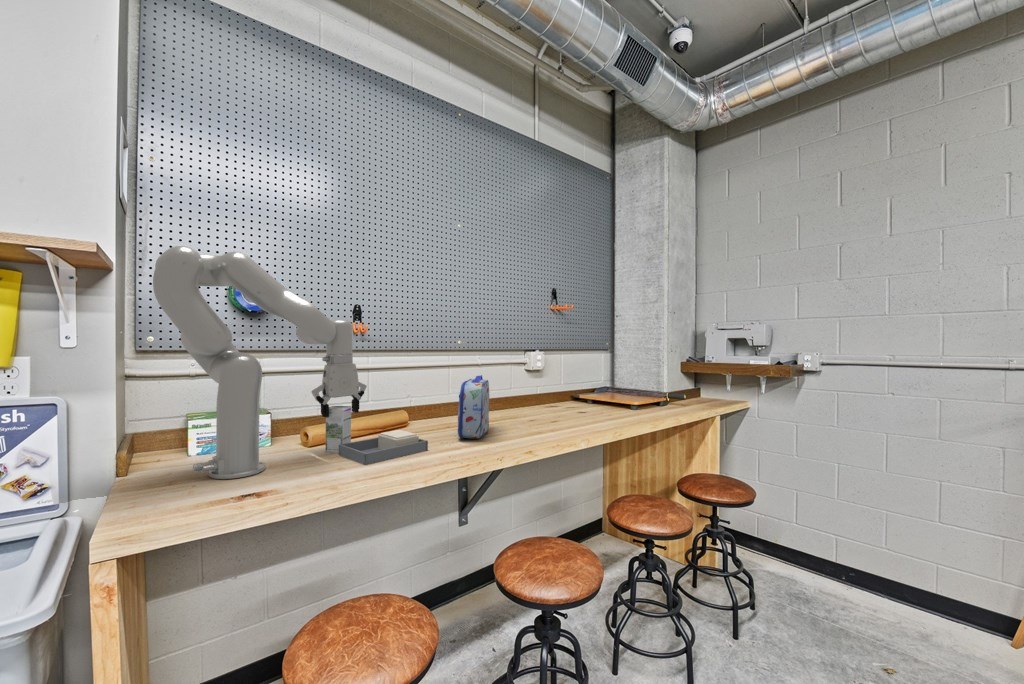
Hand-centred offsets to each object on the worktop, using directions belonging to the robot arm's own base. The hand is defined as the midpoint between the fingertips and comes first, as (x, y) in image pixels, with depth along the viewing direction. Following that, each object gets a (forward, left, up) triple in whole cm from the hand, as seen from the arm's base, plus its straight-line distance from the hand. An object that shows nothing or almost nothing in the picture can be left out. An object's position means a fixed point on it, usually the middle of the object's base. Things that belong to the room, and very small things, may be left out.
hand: (340, 414), depth 132 cm
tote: (+7, -13, -12) cm, 19 cm away
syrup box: (-1, 0, -12) cm, 12 cm away
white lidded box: (+12, -13, -11) cm, 21 cm away
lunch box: (+47, -11, -12) cm, 50 cm away
